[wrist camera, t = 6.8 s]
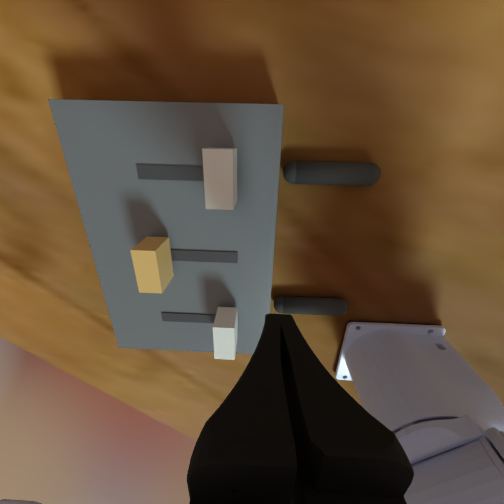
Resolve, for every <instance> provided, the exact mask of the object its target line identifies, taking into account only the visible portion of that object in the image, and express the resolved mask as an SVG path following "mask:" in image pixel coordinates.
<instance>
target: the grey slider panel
mask: <svg viewBox="0 0 504 504" xmlns="http://www.w3.org/2000/svg"><path fill="white" fill-rule="evenodd" d="M48 100H49V104H50V107H51V111H52V114H53V118H54V121H55V125H56V128H57V132H58V136H59V139H60V143H61V146H62V150H63V153H64V157H65V160H66V164H67V167H68V171H69V174H70V178H71V181H72V185H73V188H74V192H75V195H76V199H77V202H78V206H79V209H80V213H81V216H82V220H83V223H84V227H85V230H86V234H87V237H88V241H89V244H90V248H91V251H92V255H93V258H94V262H95V266H96V269H97V273H98V276H99V280H100V283H101V287H102V290H103V294H104V297H105V301H106V304H107V308H108V311H109V315H110V318H111V322H112V325H113V329H114V332H115V336H116V339H117V343H118V346H119V348H135V349H156V350H177V351H198V352H214V342H213V324H214V320H215V316H216V313H217V309H218V307H236V308H237V318H238V338H237V346H236V353H240V354H254V351H255V349H256V347H257V345H258V342H259V339H260V337H261V334H262V331H263V327H264V323H265V315H266V314H270V302H271V287H272V272H273V258H274V243H275V229H276V214H277V199H278V185H279V170H280V155H281V141H282V126H283V111H284V104H244V103H199V102H153V101H107V100H62V99H48ZM203 148H237V202H236V205H235V207H234V209H233V210H220V209H206V207H205V190H204V173H203V156H202V149H203ZM147 236H149V237H169V242H170V250H171V257H172V265H173V273H174V276H173V278H172V279H171V281H170V282H169V284H168V285H167V287H166V288H165V290H164V291H163V293H139V290H138V285H137V280H136V275H135V270H134V266H133V261H132V256H131V251H130V250H131V249H132V248H133V247H135V246H136V245H137V244H138V243H140V242H141V241H142V240H143V239H144V238H146V237H147Z"/></svg>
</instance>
